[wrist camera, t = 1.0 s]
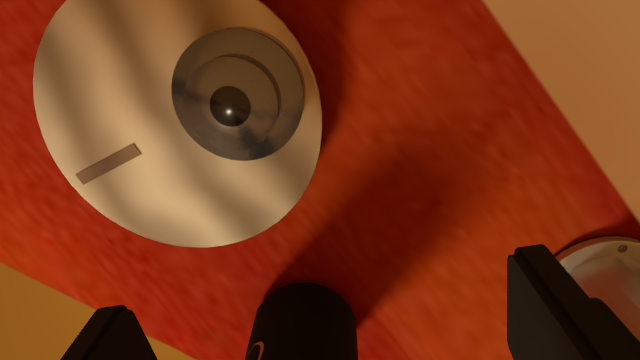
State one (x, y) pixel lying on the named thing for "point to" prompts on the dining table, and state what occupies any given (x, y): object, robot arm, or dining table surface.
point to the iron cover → (239, 93)
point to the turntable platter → (160, 121)
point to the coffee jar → (303, 326)
